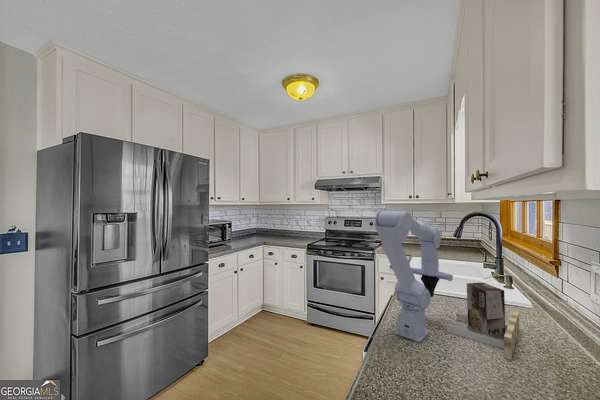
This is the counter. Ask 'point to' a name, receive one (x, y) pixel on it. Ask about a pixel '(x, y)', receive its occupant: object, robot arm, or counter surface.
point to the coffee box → (486, 309)
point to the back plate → (511, 335)
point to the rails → (474, 333)
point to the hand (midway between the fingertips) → (430, 296)
